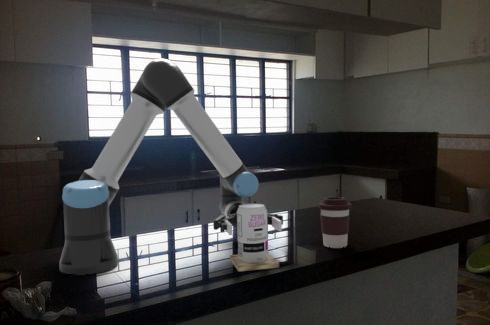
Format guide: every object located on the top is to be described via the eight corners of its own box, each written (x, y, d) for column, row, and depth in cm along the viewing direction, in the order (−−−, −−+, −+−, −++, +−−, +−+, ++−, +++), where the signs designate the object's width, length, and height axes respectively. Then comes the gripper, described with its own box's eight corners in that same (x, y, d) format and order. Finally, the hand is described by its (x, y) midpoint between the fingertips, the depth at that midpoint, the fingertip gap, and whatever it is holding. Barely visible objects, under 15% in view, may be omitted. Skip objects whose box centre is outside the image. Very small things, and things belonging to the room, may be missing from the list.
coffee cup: (336, 240, 137) (335, 195, 137) (358, 246, 129) (357, 198, 128) (312, 244, 132) (311, 198, 132) (334, 251, 124) (333, 201, 123)
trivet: (238, 271, 108) (238, 266, 108) (230, 259, 118) (230, 255, 118) (279, 267, 110) (279, 262, 110) (267, 256, 121) (267, 251, 121)
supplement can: (250, 253, 120) (249, 202, 119) (274, 258, 115) (272, 204, 114) (232, 260, 114) (230, 206, 113) (256, 266, 109) (254, 209, 108)
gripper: (276, 223, 134) (300, 238, 114) (199, 229, 129) (209, 245, 108) (276, 200, 134) (299, 210, 113) (198, 204, 128) (208, 217, 107)
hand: (255, 228), depth 111 cm, fingers open, 13 cm apart
